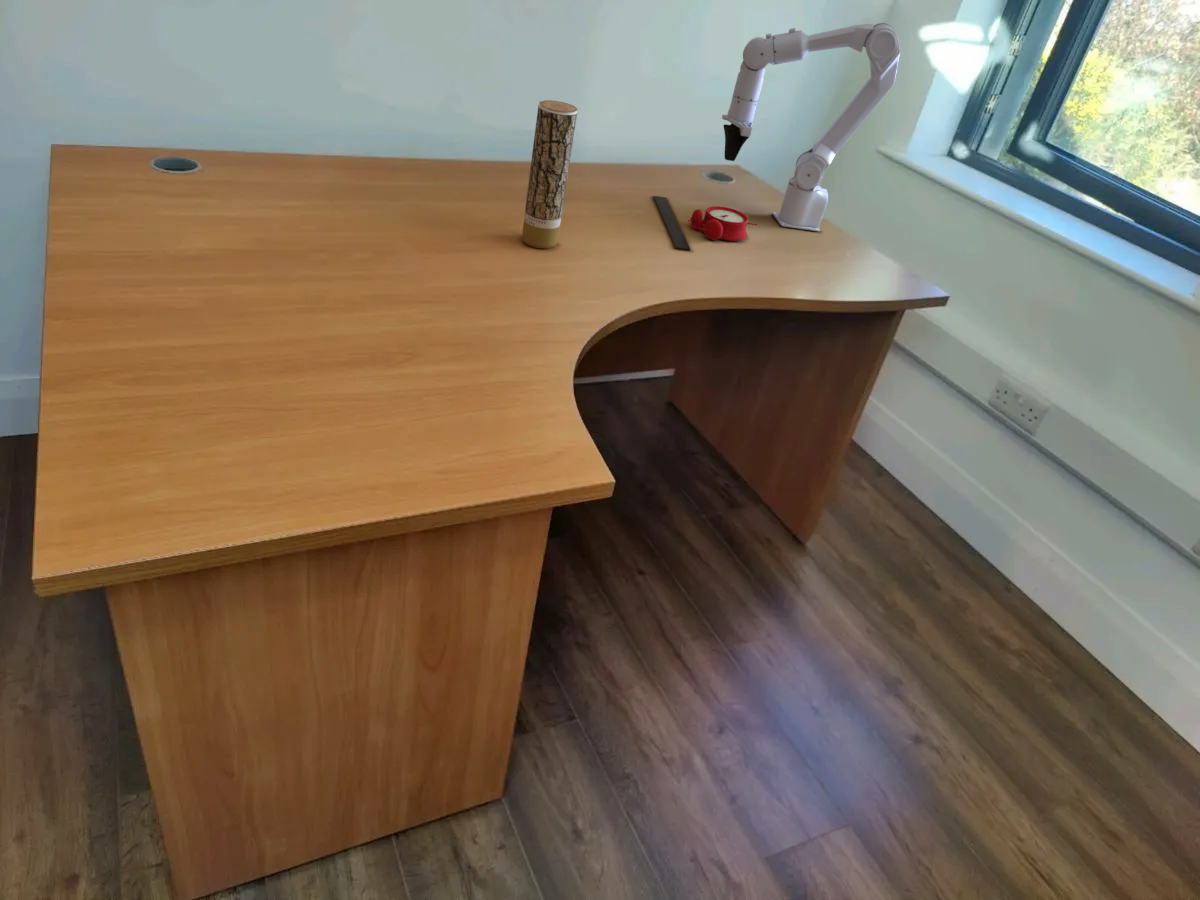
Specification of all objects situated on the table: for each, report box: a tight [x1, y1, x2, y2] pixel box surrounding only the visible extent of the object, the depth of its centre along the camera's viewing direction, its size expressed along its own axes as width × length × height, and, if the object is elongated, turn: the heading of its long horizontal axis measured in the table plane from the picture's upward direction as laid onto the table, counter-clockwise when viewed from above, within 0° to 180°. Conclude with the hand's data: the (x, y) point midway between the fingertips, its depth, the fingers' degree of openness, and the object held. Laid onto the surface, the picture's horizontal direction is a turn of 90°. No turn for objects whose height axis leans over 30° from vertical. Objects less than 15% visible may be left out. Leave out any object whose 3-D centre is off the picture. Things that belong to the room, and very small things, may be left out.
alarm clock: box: [687, 205, 758, 242], centre depth 179 cm, size 10×6×15 cm
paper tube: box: [521, 99, 579, 250], centre depth 151 cm, size 7×7×25 cm
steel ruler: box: [653, 195, 691, 252], centre depth 180 cm, size 3×30×1 cm, turn 6°
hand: (729, 159), depth 191 cm, fingers closed
